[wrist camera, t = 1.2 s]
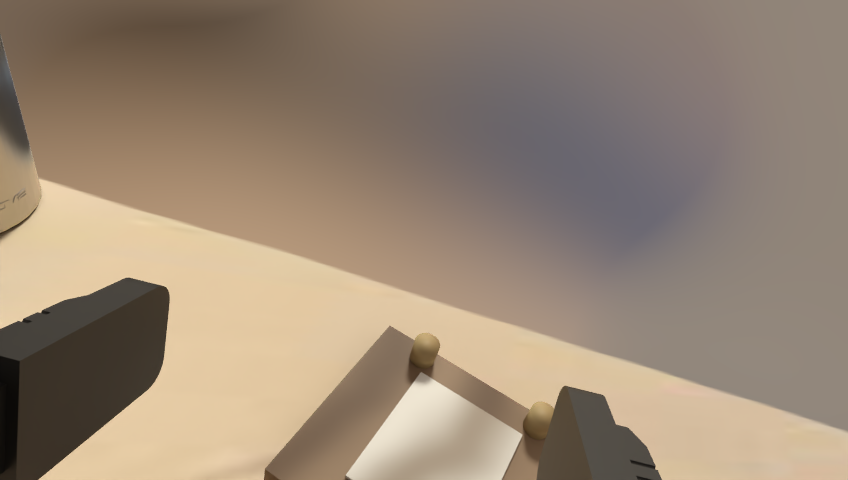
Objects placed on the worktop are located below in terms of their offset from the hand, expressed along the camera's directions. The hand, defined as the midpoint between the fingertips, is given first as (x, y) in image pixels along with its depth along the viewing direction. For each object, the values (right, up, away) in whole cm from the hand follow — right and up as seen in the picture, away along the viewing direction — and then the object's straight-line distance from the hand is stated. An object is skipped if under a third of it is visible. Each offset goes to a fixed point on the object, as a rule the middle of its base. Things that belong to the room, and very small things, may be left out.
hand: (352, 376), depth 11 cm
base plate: (+2, -10, +20) cm, 23 cm away
